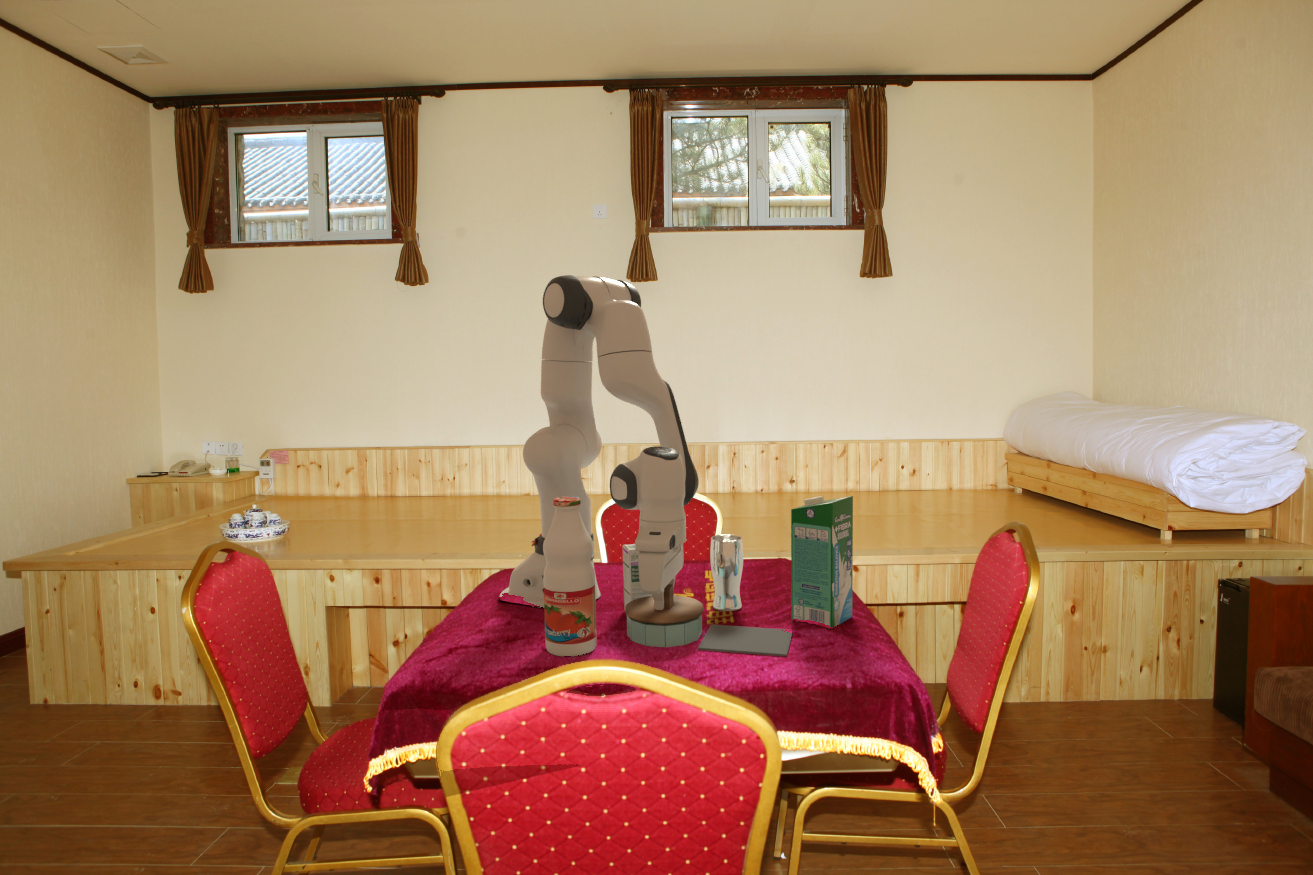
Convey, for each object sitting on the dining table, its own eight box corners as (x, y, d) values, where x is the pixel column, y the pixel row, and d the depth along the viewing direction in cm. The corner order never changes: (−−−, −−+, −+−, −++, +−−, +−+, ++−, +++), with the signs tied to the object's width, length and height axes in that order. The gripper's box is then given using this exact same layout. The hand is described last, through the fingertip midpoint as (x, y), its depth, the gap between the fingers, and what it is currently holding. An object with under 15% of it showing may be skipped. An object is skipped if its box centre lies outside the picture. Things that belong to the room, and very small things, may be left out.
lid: (615, 620, 147) (614, 595, 146) (637, 596, 161) (637, 573, 161) (694, 625, 143) (694, 599, 143) (709, 601, 157) (709, 577, 157)
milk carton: (812, 608, 166) (812, 491, 164) (852, 617, 160) (853, 495, 158) (791, 620, 159) (790, 497, 157) (832, 629, 153) (832, 502, 151)
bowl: (619, 643, 148) (618, 622, 147) (639, 619, 161) (639, 600, 161) (692, 649, 144) (692, 627, 144) (707, 624, 158) (707, 604, 157)
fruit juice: (605, 642, 148) (601, 495, 146) (582, 660, 140) (578, 504, 137) (560, 637, 152) (556, 493, 149) (536, 654, 143) (530, 501, 140)
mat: (698, 649, 144) (698, 647, 144) (711, 626, 156) (711, 624, 156) (786, 656, 140) (786, 654, 140) (793, 631, 152) (793, 629, 152)
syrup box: (630, 619, 162) (628, 549, 160) (623, 610, 167) (622, 543, 166) (657, 616, 163) (655, 547, 162) (649, 607, 169) (648, 541, 167)
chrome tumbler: (742, 612, 164) (741, 541, 163) (708, 611, 166) (707, 540, 164) (745, 602, 171) (744, 534, 170) (713, 601, 173) (712, 533, 171)
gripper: (660, 521, 161) (661, 587, 163) (632, 544, 142) (633, 619, 143) (690, 522, 160) (691, 588, 161) (666, 545, 140) (667, 621, 142)
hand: (664, 603), depth 152 cm, fingers open, 5 cm apart
